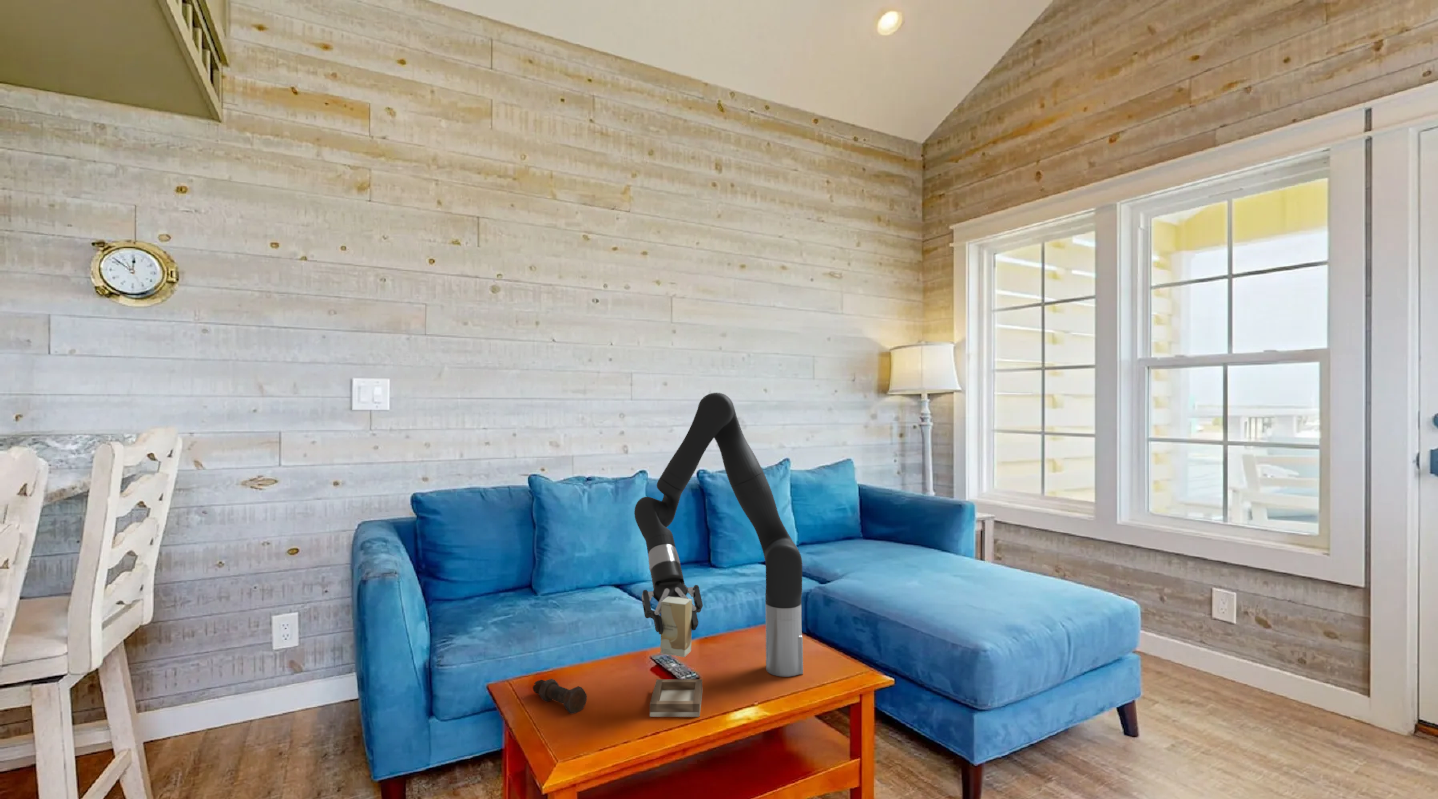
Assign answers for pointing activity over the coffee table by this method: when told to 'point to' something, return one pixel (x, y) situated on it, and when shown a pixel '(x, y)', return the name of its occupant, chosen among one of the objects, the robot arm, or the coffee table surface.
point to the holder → (676, 698)
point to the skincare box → (676, 626)
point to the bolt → (561, 695)
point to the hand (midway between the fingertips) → (678, 630)
